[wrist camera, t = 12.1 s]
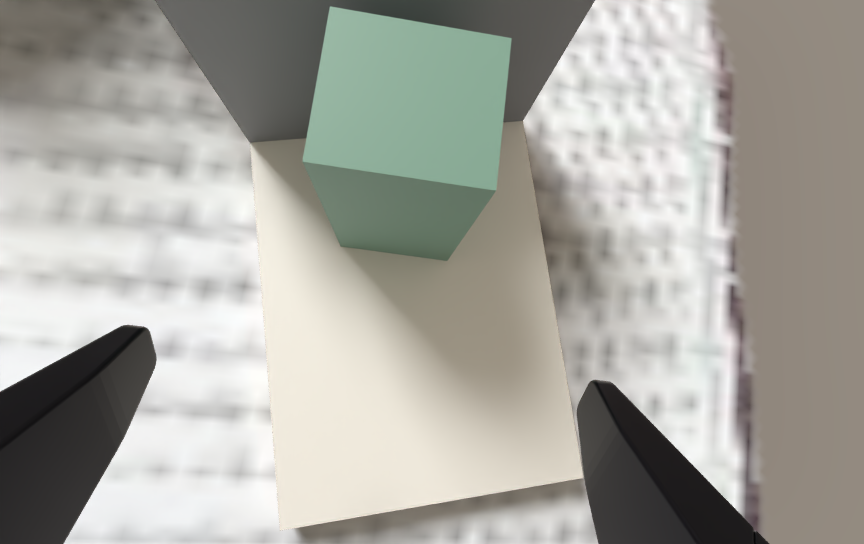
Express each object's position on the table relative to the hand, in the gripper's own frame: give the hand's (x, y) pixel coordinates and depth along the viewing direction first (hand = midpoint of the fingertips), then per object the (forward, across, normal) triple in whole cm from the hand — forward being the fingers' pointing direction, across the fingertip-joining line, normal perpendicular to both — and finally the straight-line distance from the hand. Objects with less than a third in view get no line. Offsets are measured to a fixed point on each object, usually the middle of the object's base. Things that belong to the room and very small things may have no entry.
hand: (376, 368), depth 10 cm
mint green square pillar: (+11, 0, +2) cm, 11 cm away
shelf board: (+10, -1, +6) cm, 11 cm away
